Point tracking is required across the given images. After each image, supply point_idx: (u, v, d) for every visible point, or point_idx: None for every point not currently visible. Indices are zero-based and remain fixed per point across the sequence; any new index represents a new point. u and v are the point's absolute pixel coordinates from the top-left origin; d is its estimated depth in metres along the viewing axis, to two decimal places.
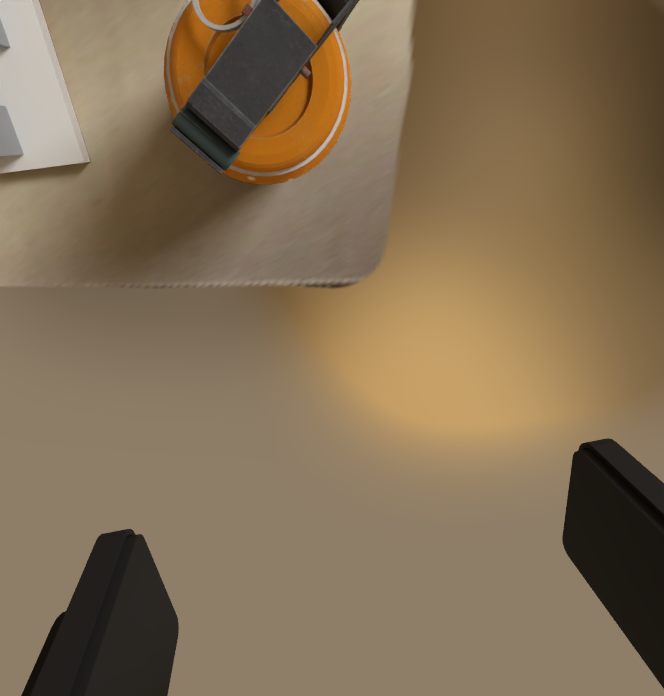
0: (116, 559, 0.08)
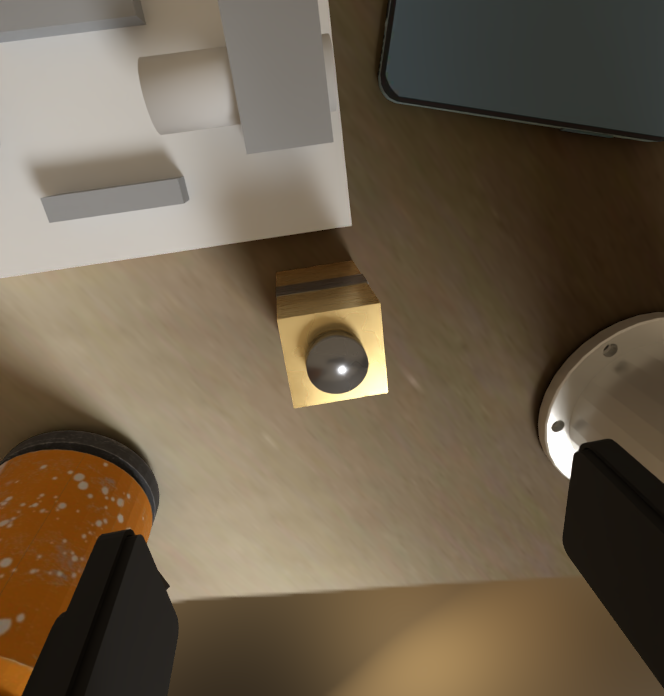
0: (116, 559, 0.08)
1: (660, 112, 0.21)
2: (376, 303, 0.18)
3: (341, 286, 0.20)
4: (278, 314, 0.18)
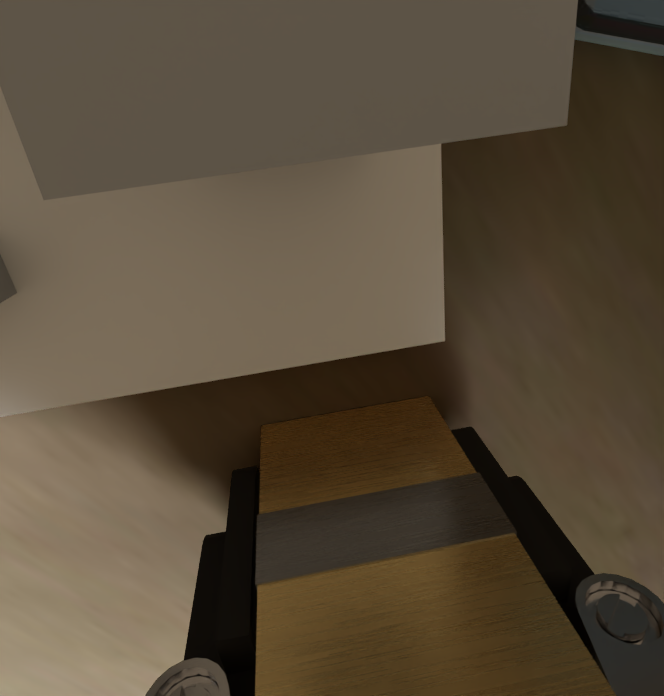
0: (255, 487, 0.09)
1: None
2: None
3: (443, 548, 0.07)
4: None
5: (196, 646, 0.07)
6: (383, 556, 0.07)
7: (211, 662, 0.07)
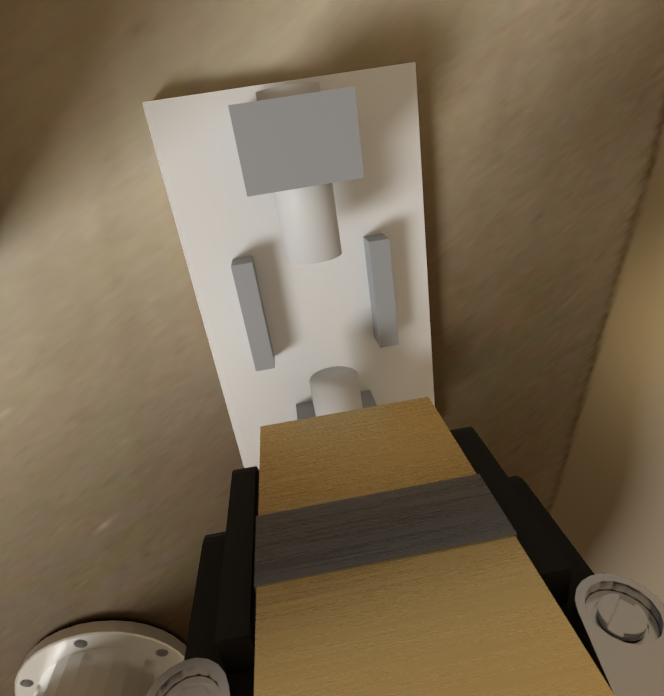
0: (255, 487, 0.09)
1: None
2: None
3: (443, 550, 0.07)
4: None
5: (196, 646, 0.07)
6: (383, 558, 0.07)
7: (211, 662, 0.07)
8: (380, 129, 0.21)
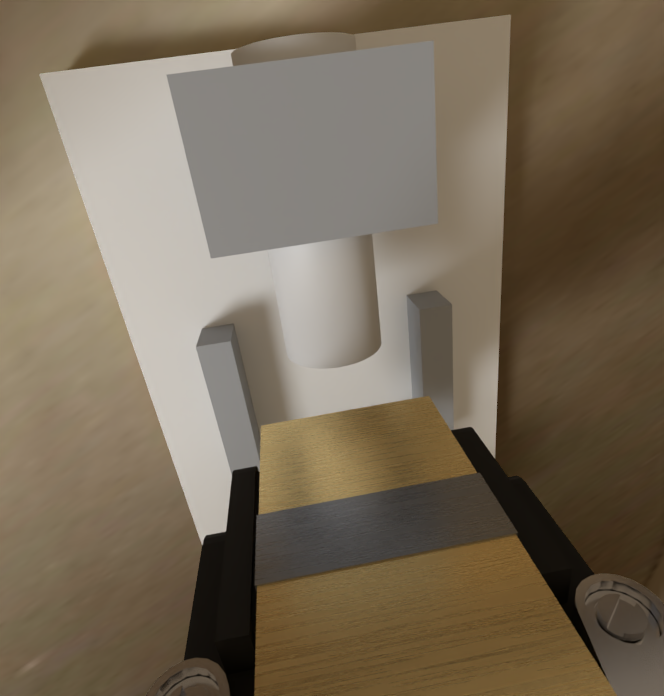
0: (255, 487, 0.09)
1: None
2: None
3: (444, 548, 0.07)
4: None
5: (196, 646, 0.07)
6: (383, 557, 0.07)
7: (211, 662, 0.07)
8: (444, 128, 0.13)
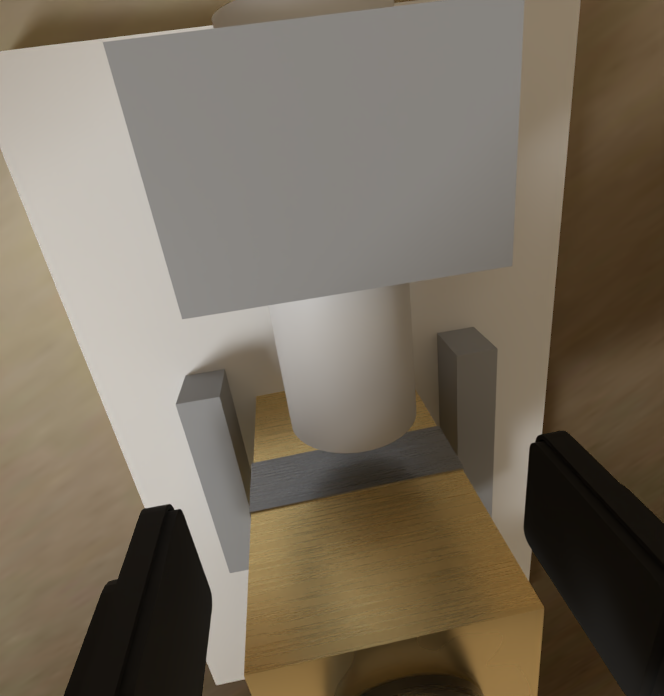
0: (160, 530, 0.09)
1: None
2: (532, 607, 0.06)
3: (403, 481, 0.08)
4: (249, 632, 0.06)
5: None
6: (354, 489, 0.08)
7: None
8: None
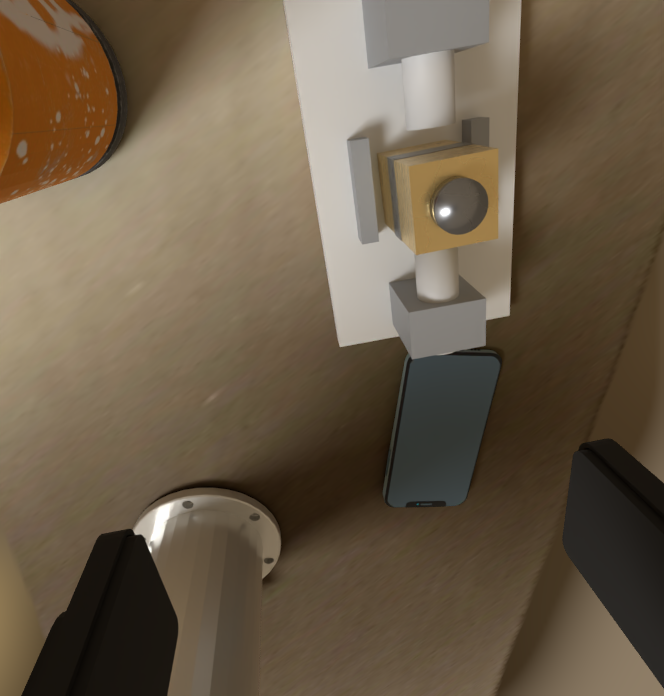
0: (116, 559, 0.08)
1: (399, 494, 0.39)
2: (494, 149, 0.20)
3: (451, 148, 0.22)
4: (406, 164, 0.20)
5: None
6: (432, 151, 0.22)
7: None
8: None
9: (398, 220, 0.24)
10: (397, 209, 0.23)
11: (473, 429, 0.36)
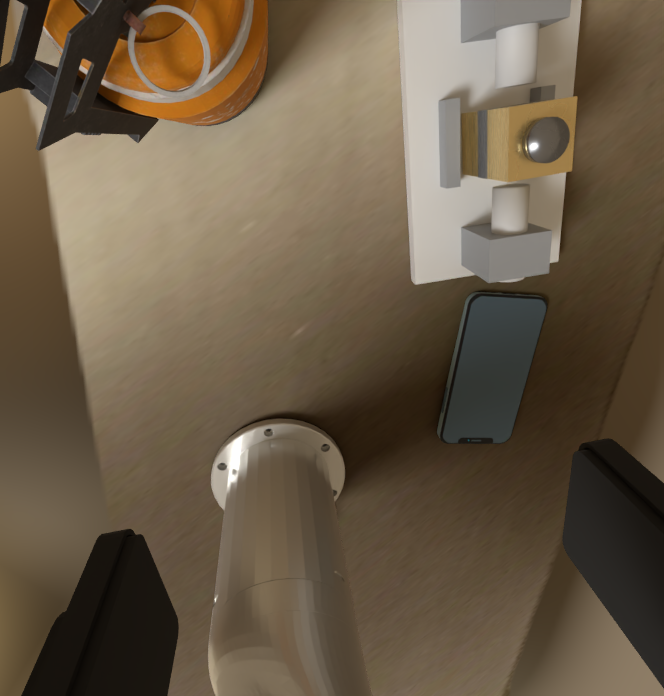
0: (116, 559, 0.08)
1: (453, 430, 0.43)
2: (574, 96, 0.26)
3: (532, 102, 0.28)
4: (505, 107, 0.26)
5: None
6: (517, 104, 0.28)
7: None
8: None
9: (485, 161, 0.29)
10: (486, 152, 0.29)
11: (520, 368, 0.42)
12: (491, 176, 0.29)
